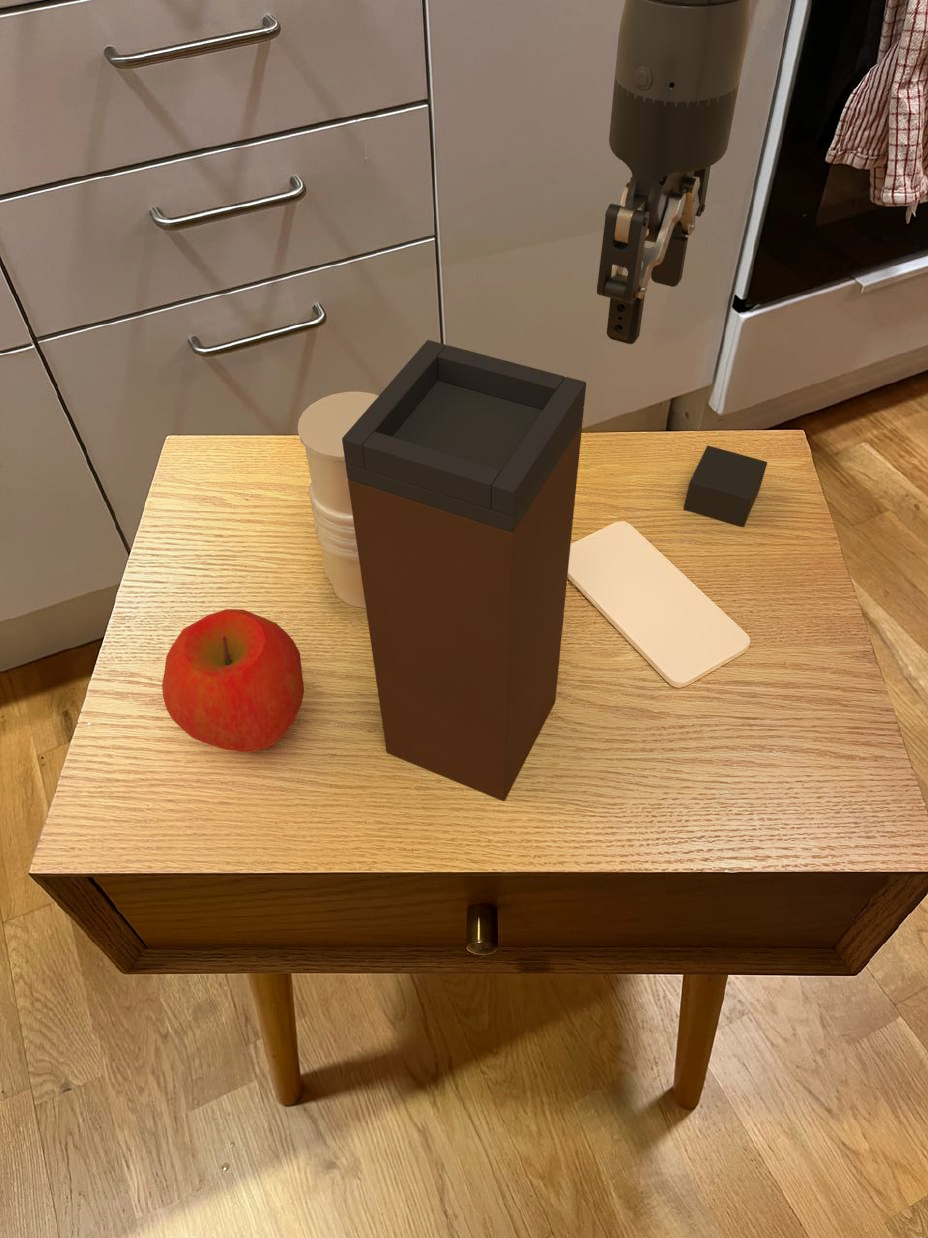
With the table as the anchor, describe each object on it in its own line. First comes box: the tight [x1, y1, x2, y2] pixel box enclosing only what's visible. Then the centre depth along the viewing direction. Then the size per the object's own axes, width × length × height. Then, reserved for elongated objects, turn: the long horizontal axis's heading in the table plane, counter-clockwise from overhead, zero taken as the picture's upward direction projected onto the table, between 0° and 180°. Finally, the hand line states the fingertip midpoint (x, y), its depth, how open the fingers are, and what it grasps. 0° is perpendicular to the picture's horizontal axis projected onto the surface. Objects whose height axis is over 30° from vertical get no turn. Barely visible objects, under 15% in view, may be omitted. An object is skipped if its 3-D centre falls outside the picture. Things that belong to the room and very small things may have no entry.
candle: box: [297, 391, 379, 609], centre depth 68 cm, size 7×7×15 cm
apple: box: [161, 608, 305, 753], centre depth 61 cm, size 9×8×11 cm
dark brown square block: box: [683, 445, 768, 528], centre depth 78 cm, size 5×5×3 cm
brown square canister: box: [342, 339, 587, 802], centre depth 55 cm, size 9×9×26 cm
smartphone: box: [567, 520, 751, 689], centre depth 72 cm, size 7×1×15 cm
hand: (644, 309), depth 71 cm, fingers open, 8 cm apart
